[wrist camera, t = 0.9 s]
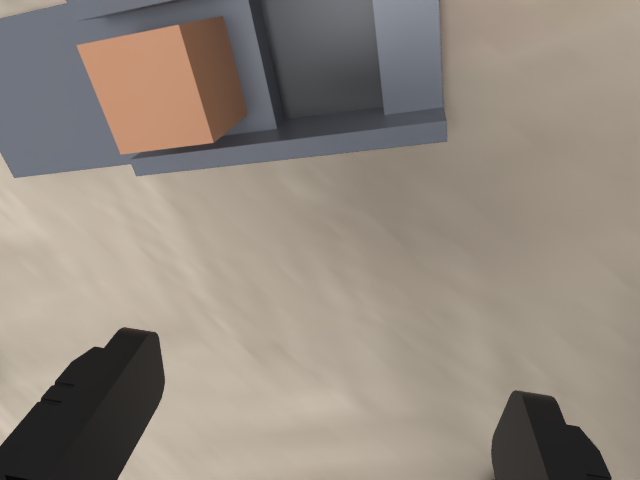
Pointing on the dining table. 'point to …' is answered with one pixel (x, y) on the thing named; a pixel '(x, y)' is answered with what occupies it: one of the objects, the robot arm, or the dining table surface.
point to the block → (166, 85)
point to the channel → (254, 76)
